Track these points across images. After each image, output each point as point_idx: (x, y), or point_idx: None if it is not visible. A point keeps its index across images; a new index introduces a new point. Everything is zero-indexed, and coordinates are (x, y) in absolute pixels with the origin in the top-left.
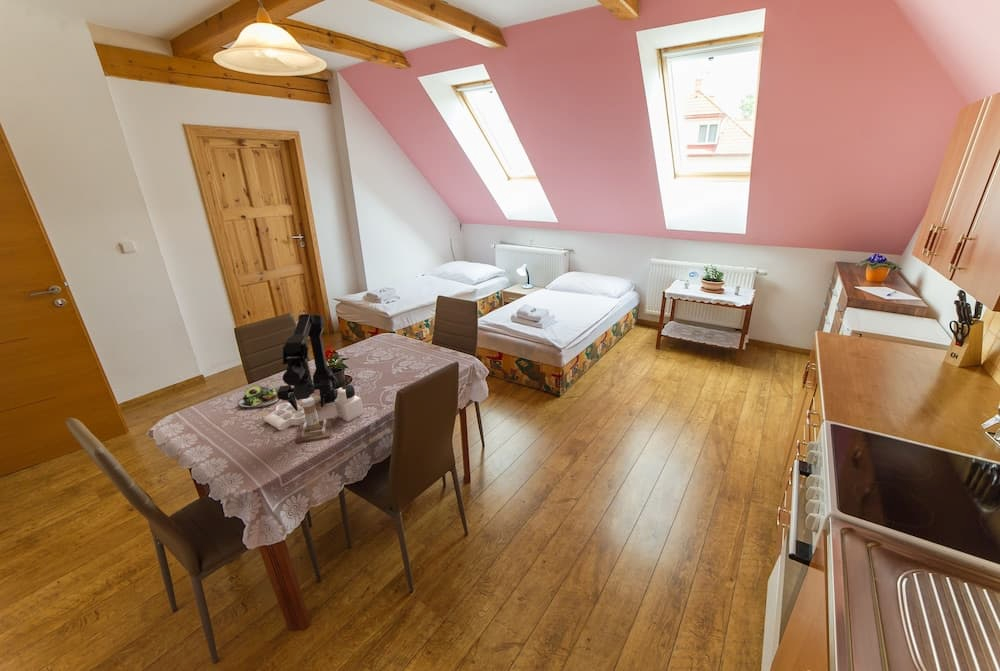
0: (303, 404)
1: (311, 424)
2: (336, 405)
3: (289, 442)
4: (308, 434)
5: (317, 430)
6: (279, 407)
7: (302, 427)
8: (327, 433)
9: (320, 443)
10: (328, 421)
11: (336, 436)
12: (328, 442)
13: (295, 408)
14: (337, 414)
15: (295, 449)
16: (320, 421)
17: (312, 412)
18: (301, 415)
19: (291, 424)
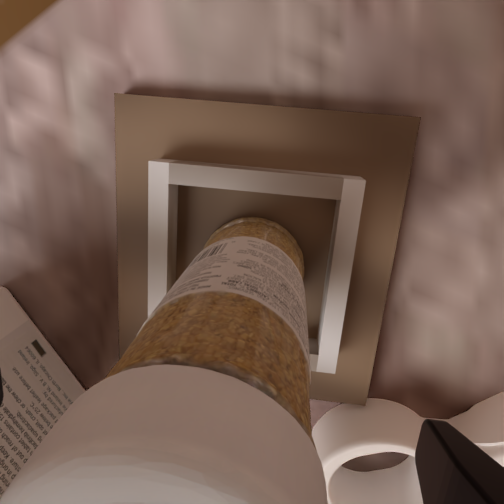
0: (274, 462)
1: (252, 238)
2: (18, 465)
3: (472, 163)
4: (299, 171)
5: (210, 183)
6: None
7: (355, 333)
8: (134, 144)
9: (196, 26)
10: None
11: (66, 93)
12: (125, 14)
13: (473, 458)
14: None
15: (424, 10)
16: None
17: (173, 304)
18: (361, 497)
19: None
